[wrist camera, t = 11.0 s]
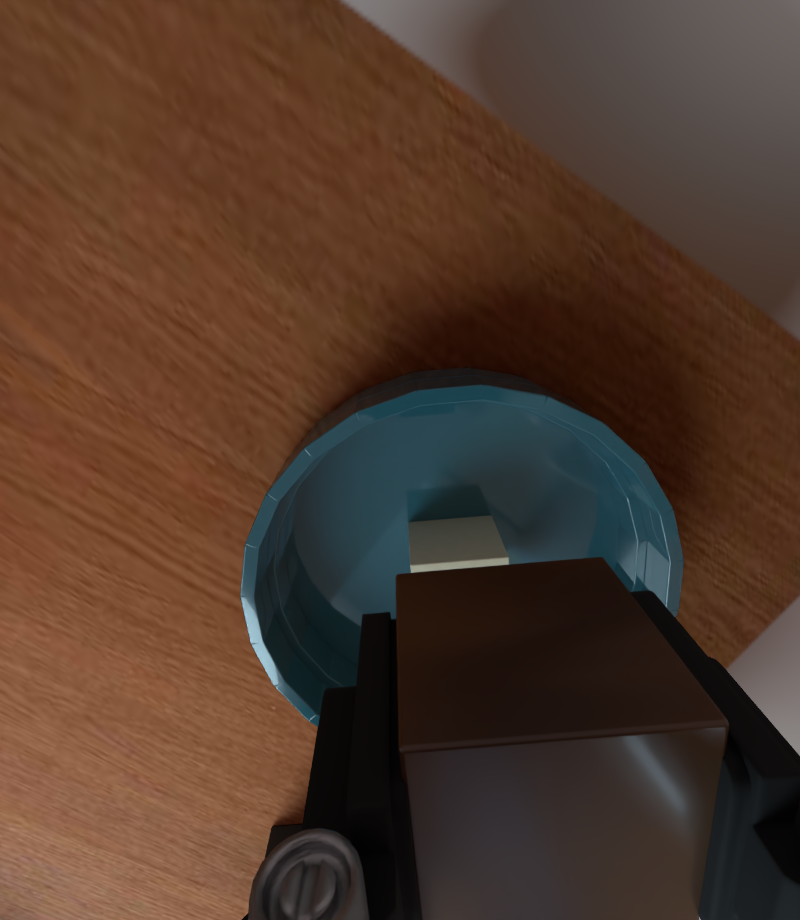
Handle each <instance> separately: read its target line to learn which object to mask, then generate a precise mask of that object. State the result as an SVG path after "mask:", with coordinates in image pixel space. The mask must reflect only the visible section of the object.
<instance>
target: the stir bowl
mask: <svg viewBox="0 0 800 920" xmlns="http://www.w3.org/2000/svg"><path fill="white" fill-rule="evenodd" d="M489 515H491V516H492V518H493V520H494V523H495V525H496V527H497V530H498V532H499V535H500V537H501V539H502V542H503V544H504V547H505V549H506V551H507V554H508V556H509V564H520V563H532V562H544V561H555V560H567V559H579V558H591V557H603V558H604V559H605V561H606V562H607V563H608V564H609V566H610V567H611V568H612V570H613V571H614V572H615V574H616V575H617V576H618V578H619V579H620V580H621V581H622V583H623V584H624V585H625V587H626V588H627V589H628V591H629V592H633V591H645V590H650V591H652V592H654V593H655V594H656V596H657V597H658V598H659V599H660V600H661V601H662V603H663V604H664V605H665V606H666V607H667V609H668V610H669V611H670V612H671V613H672V615H673V616H674V617H675V618H676V615H677V613H678V609H679V604H680V594H681V585H682V575H683V566H684V560H683V559H684V557H683V553H682V548H681V543H680V538H679V533H678V528H677V524H676V519H675V514H674V510H673V507H672V505H671V504H670V502H669V500H668V498H667V497H666V495H665V493H664V491H663V490H662V488H661V486H660V485H659V483H658V481H657V479H656V478H655V476H654V474H653V472H652V471H651V469H650V467H649V465H648V464H647V463H646V461H645V460H644V459H643V458H642V457H641V456H640V455H639V454H638V453H637V452H635V451H634V450H633V449H632V448H631V447H630V446H629V445H628V444H627V443H626V442H624V441H623V440H622V439H621V438H620V437H619V436H618V435H617V434H616V433H615V432H614V431H612V430H611V429H610V428H609V427H608V426H607V425H606V424H605V423H603V422H602V421H600V420H599V419H597V418H596V417H594V416H593V415H592V414H590V413H589V412H587V411H586V410H584V409H583V408H581V407H580V406H578V405H577V404H575V403H574V402H572V401H571V400H569V399H568V398H565V397H563V396H561V395H559V394H557V393H555V392H553V391H551V390H549V389H547V388H545V387H543V386H541V385H539V384H537V383H534V382H532V381H530V380H528V379H526V378H524V377H523V378H522V377H521V376H515V375H510V374H504V373H498V372H493V371H487V370H482V369H476V368H468V367H464V368H453V369H441V370H430V371H419V372H412V373H409V374H406V375H403V376H401V377H398V378H395V379H392V380H390V381H387V382H384V383H381V384H379V385H376V386H373V387H370V388H368V389H365V390H362V392H359V393H357V394H356V395H355V396H353V397H352V398H350V399H349V400H347V401H346V402H345V403H343V404H342V405H340V406H339V407H338V408H336V409H335V410H333V411H332V412H330V413H329V414H328V415H326V416H325V417H323V418H322V419H320V420H319V421H318V422H317V423H316V424H315V425H314V427H313V428H312V429H311V430H310V431H309V433H308V434H307V435H306V436H305V438H304V439H303V440H302V441H301V442H300V444H299V445H298V446H297V447H296V449H295V450H294V451H293V452H292V454H291V455H290V456H289V457H288V458H287V460H286V461H285V463H284V465H283V466H282V468H281V470H280V471H279V473H278V475H277V476H276V478H275V480H274V481H273V483H272V485H271V486H270V488H269V490H268V491H267V493H266V495H265V497H264V499H263V502H262V504H261V507H260V509H259V511H258V514H257V516H256V519H255V521H254V523H253V526H252V528H251V531H250V533H249V535H248V538H247V540H246V544H245V548H244V559H243V570H242V581H241V592H240V595H241V596H240V597H241V602H242V606H243V611H244V616H245V620H246V625H247V629H248V634H249V639H250V643H251V646H252V647H253V649H254V651H255V653H256V655H257V656H258V658H259V660H260V662H261V664H262V665H263V667H264V669H265V671H266V673H267V675H268V676H269V678H270V680H271V682H272V684H273V685H274V686H275V688H276V689H277V690H278V691H279V692H280V693H281V694H282V695H283V696H284V697H285V698H286V699H287V700H288V701H289V702H290V703H291V704H292V705H293V706H294V707H295V708H296V709H297V710H298V711H299V712H300V713H301V714H302V715H303V716H304V717H305V718H306V719H307V720H308V721H309V722H311V723H312V724H314V725H316V726H317V727H318V724H319V718H320V712H321V705H322V699H323V695H324V691H325V689H326V688H337V687H349V686H356V684H357V672H358V659H359V647H360V635H361V623H362V615H363V614H370V613H382V612H390V614H391V619H396V581H395V578H396V575H397V574H401V573H411V567H410V551H409V534H408V522H416V521H428V520H440V519H452V518H464V517H476V516H489Z"/></svg>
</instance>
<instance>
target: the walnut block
mask: <svg viewBox="0 0 800 920" xmlns="http://www.w3.org/2000/svg"><path fill="white" fill-rule="evenodd" d="M395 581H396V639H397V697H398V750H399V759H400V768H401V777H402V780H403V782H406V785H407V794H408V803H409V812H410V821H411V830H412V839H413V848H414V857H415V866H416V875H417V884H418V893H419V902H420V911H421V920H699V915H698V912H699V905H700V899H701V893H702V886H703V880H704V873H705V867H706V861H707V854H708V848H709V841H710V835H711V829H712V822H713V816H714V810H715V803H716V797H717V790H718V784H719V778H720V771H721V765H722V758H723V757H724V756H725V751H726V744H727V738H728V732H729V723H728V720H727V719H726V717H725V716H724V715H723V714H722V712H721V711H720V710H719V708H718V707H717V706H716V704H715V703H714V702H713V700H712V699H711V698H710V697H709V695H708V694H707V693H706V691H705V690H704V689H703V687H702V686H701V685H700V683H699V682H698V681H697V680H696V678H695V677H694V676H693V674H692V673H691V672H690V670H689V669H688V668H687V666H686V665H685V664H684V663H683V661H682V660H681V659H680V657H679V656H678V655H677V653H676V652H675V651H674V649H673V648H672V647H671V646H670V644H669V643H668V642H667V640H666V639H665V638H664V636H663V635H662V634H661V632H660V631H659V630H658V629H657V627H656V626H655V625H654V623H653V622H652V621H651V619H650V618H649V617H648V615H647V614H646V613H645V612H644V610H643V609H642V608H641V606H640V605H639V604H638V602H637V601H636V600H635V598H634V597H633V596H632V595H631V593H630V592H629V591H628V589H627V588H626V587H625V585H624V584H623V583H622V581H621V580H620V579H619V578H618V576H617V575H616V574H615V572H614V571H613V570H612V568H611V567H610V566H609V564H608V563H607V562H606V561H605V559H604V558H603V557H591V558H579V559H567V560H555V561H544V562H532V563H520V564H508V565H496V566H484V567H473V568H461V569H449V570H437V571H425V572H413V573H401V574H397V575H396V578H395Z"/></svg>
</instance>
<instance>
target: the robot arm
mask: <svg viewBox="0 0 800 920" xmlns="http://www.w3.org/2000/svg"><path fill="white" fill-rule="evenodd" d="M630 593H631V595H632V596H633V597H634V598H635V600H636V601H637V602H638V604H639V605H640V606H641V608H642V609H643V610H644V612H645V613H646V614H647V615H648V617H649V618H650V619H651V621H652V622H653V623H654V625H655V626H656V627H657V629H658V630H659V631H660V632H661V634H662V635H663V636H664V638H665V639H666V640H667V642H668V643H669V644H670V646H671V647H672V648H673V649H674V651H675V652H676V653H677V655H678V656H679V657H680V659H681V660H682V661H683V663H684V664H685V665H686V666H687V668H688V669H689V670H690V672H691V673H692V674H693V676H694V677H695V678H696V680H697V681H698V682H699V683H700V685H701V686H702V687H703V689H704V690H705V691H706V693H707V694H708V695H709V697H710V698H711V699H712V700H713V702H714V703H715V704H716V706H717V707H718V708H719V710H720V711H721V712H722V714H723V715H724V716H725V717H726V719H727V720H728V723H729V732H728V738H727V744H726V751H725V756H724V757H723V758H722V765H721V771H720V778H719V784H718V790H717V797H716V803H715V810H714V816H713V822H712V829H711V835H710V841H709V848H708V854H707V861H706V867H705V873H704V880H703V886H702V893H701V899H700V905H699V912H698V915H699V917H700V919H701V920H800V756H799V755H798V754H797V752H796V751H795V750H794V749H793V748H792V746H791V745H790V744H789V743H788V742H787V741H786V740H785V738H784V737H783V736H782V735H781V734H780V733H779V731H778V730H777V729H776V728H775V727H774V726H773V724H772V723H771V722H770V721H769V720H768V718H767V717H766V716H765V715H764V714H763V713H762V712H761V710H760V709H759V708H758V707H757V706H756V704H755V703H754V702H753V701H752V700H751V699H750V697H748V695H747V694H746V693H745V692H744V690H743V689H742V688H741V687H740V686H739V685H738V683H737V682H736V681H735V680H734V679H733V678H732V676H731V675H730V674H729V673H728V672H727V671H726V669H725V668H724V667H723V666H722V665H721V664H720V663H719V662H718V661H717V660H715V659H713V658H711V657H708V656H707V655H706V654H705V653H704V652H703V650H702V649H701V648H700V647H699V646H698V644H697V643H696V642H695V641H694V640H693V638H692V637H691V636H690V635H689V634H688V632H687V631H686V630H685V629H684V628H683V627H682V625H681V624H680V623H679V622H678V621H677V619H676V618H675V617H674V616H673V615H672V613H671V612H670V611H669V610H668V609H667V607H666V606H665V605H664V604H663V603H662V601H661V600H660V599H659V598H658V597H657V596H656V594H655V593H654V592H652V591H650V590H645V591H633V592H630ZM242 920H421V911H420V902H419V893H418V884H417V875H416V866H415V857H414V848H413V839H412V830H411V821H410V812H409V803H408V794H407V785H406V782H403V780H402V777H401V768H400V759H399V750H398V697H397V639H396V619H391V614H390V612H382V613H370V614H363V615H362V623H361V635H360V647H359V659H358V672H357V684H356V686H349V687H337V688H326V689H325V691H324V695H323V699H322V705H321V712H320V718H319V724H318V730H317V737H316V743H315V749H314V755H313V761H312V768H311V774H310V780H309V786H308V792H307V799H306V805H305V811H304V817H303V823H302V830H301V832H298V833H296V834H294V835H291V836H289V837H288V838H286V839H285V840H284V841H282V842H281V843H280V844H278V845H277V846H276V847H274V848H273V850H272V851H271V852H270V853H269V855H268V856H267V857H266V858H265V860H264V861H263V862H262V863H261V865H260V868H259V870H258V872H257V874H256V876H255V878H254V880H253V884H252V889H251V894H250V899H249V912H248V914H247V915H246V916H245V917H244V918H243V919H242Z"/></svg>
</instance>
